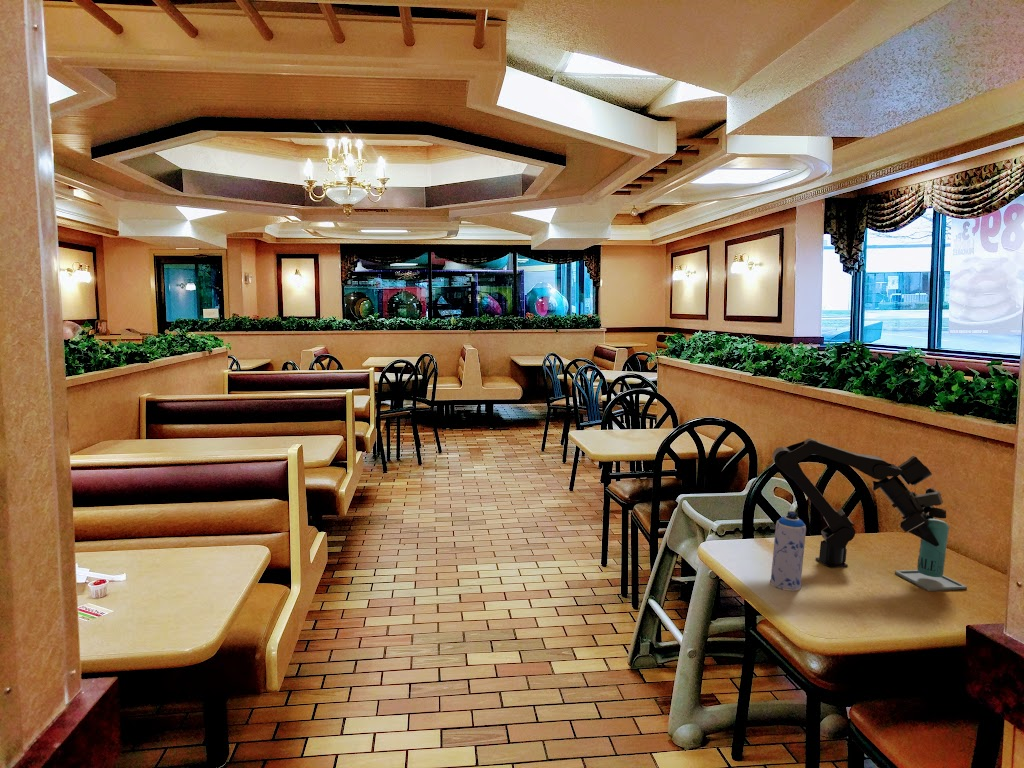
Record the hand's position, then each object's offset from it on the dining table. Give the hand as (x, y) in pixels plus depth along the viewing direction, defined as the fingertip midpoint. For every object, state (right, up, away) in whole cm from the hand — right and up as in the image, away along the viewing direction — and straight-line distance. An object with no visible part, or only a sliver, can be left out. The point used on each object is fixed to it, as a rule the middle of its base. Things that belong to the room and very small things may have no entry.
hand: (939, 542), depth 189 cm
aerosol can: (-45, -10, -5) cm, 46 cm away
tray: (-2, -11, +2) cm, 12 cm away
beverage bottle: (-2, -11, +2) cm, 11 cm away
